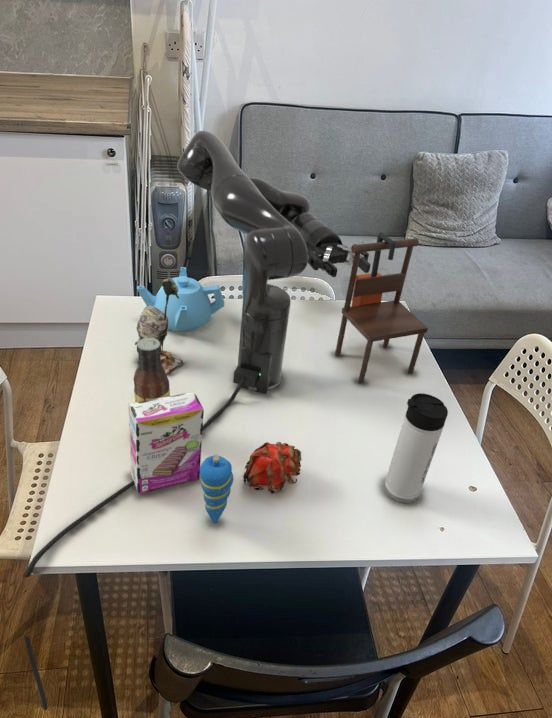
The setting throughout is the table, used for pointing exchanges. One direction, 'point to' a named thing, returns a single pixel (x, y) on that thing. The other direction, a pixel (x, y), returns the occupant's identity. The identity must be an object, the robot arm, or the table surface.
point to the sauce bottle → (150, 372)
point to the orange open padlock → (374, 273)
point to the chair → (380, 306)
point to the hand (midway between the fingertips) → (351, 271)
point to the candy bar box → (165, 441)
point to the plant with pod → (159, 326)
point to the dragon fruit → (272, 466)
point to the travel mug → (415, 447)
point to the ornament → (216, 485)
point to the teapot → (185, 303)
